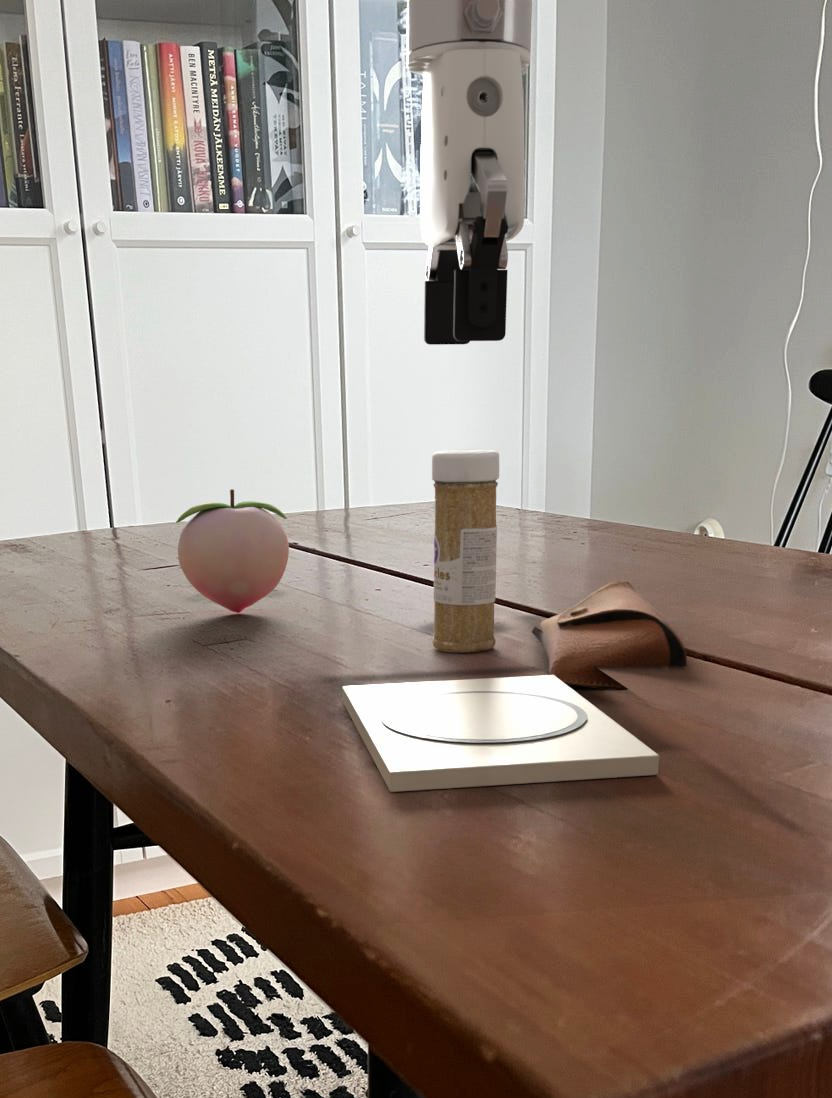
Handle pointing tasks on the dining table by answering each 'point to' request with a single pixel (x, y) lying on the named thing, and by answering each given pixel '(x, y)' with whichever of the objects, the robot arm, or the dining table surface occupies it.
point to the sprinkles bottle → (465, 549)
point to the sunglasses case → (608, 637)
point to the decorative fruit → (233, 551)
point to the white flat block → (490, 734)
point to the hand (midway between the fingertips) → (462, 342)
